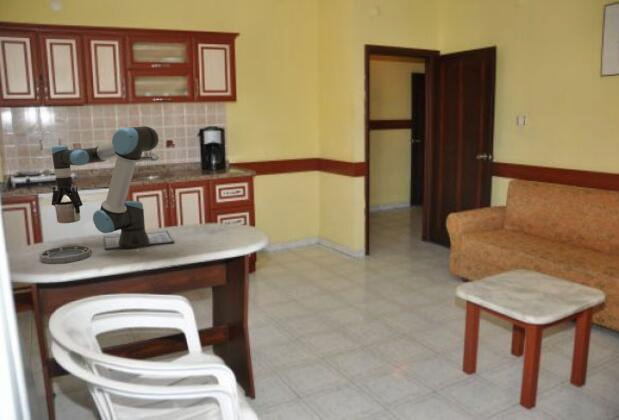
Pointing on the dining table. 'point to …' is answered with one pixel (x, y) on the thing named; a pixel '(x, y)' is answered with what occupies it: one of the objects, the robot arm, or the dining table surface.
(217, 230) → the dining table surface
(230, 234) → the dining table surface
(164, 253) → the dining table surface
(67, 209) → the planter
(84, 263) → the dining table surface
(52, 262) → the tray
